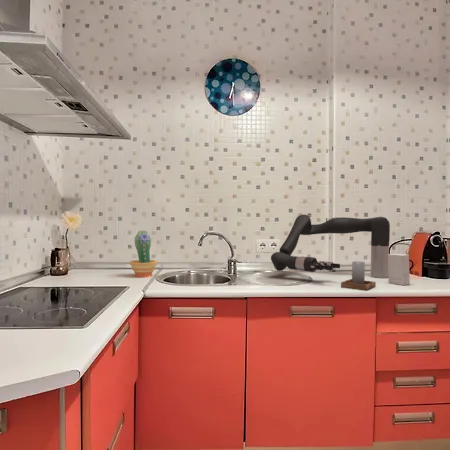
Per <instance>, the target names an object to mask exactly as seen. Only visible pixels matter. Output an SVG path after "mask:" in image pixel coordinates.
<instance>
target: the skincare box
mask: <svg viewBox="0 0 450 450" xmlns="http://www.w3.org/2000/svg"><path fill="white" fill-rule="evenodd" d="M387 278H388V284H393V285H399V286H405V285H406V286H407V285H410V282H411V281H410V280H411V279H410V278H411V276H410V255H409V254H408V253H389V254H388V277H387Z"/></svg>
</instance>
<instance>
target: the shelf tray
mask: <svg viewBox="0 0 450 450" xmlns="http://www.w3.org/2000/svg"><path fill="white" fill-rule="evenodd" d="M376 283H377V282H376V281H372V280H371V281H370V280H365V283H364V285H362V284H354V283H352V278H350V279H346V280H343V281H340V288H342V289H343V288H344V289H350V288H351V290H357V289H358V291H359V290H360V291H367V292H368V291H369V290H371V289H374V288H376V285H377V284H376Z"/></svg>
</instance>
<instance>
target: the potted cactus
mask: <svg viewBox="0 0 450 450" xmlns="http://www.w3.org/2000/svg"><path fill="white" fill-rule="evenodd" d="M151 246H152V237H151V235H150V233H148V231H147V230H138V232H137V234H136V235H135V236H134V247H135V249H136V252H137V258H138V260H137V259H136V260H130V261H129V262H128V263H129V265H130V266H131V269H132V271H133V272H134V275H135V277H136V276H137V277H136V278H149V276H150V277H152V276H153V272H154V271H155V270H156V266H157V265H158V260H155V259H151V252H150V251H151V248H152V247H151Z"/></svg>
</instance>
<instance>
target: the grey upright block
mask: <svg viewBox="0 0 450 450" xmlns="http://www.w3.org/2000/svg"><path fill="white" fill-rule="evenodd" d="M351 265H352V266H351V279H352V283H354V284H362V285H364V283H365V281H366V279H365V278H366V277H365V276H366V273H365V272H366V271H365V270H366V268H365V267H366V262H364V261H357V260H354V261H351Z"/></svg>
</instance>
